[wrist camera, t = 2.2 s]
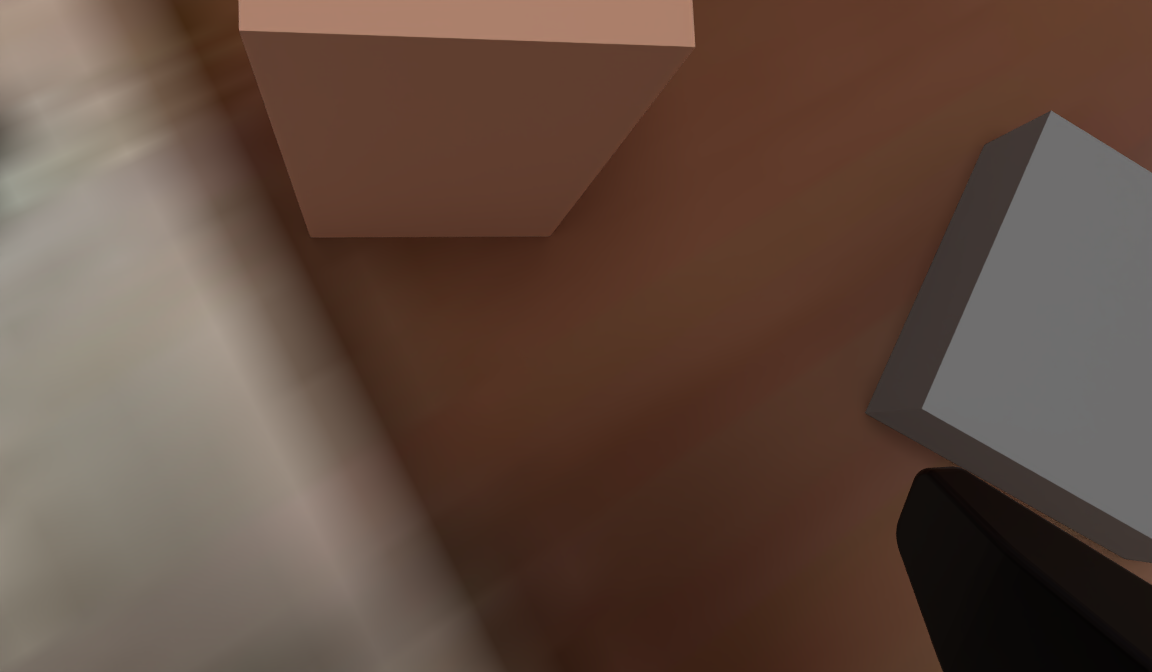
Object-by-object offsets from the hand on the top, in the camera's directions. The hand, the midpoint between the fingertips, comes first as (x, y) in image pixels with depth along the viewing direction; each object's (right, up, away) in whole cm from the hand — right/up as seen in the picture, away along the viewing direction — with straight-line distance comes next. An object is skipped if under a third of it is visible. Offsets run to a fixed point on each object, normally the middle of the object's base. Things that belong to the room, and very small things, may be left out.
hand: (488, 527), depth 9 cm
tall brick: (-3, +7, +13) cm, 15 cm away
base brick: (+13, +1, +16) cm, 21 cm away
